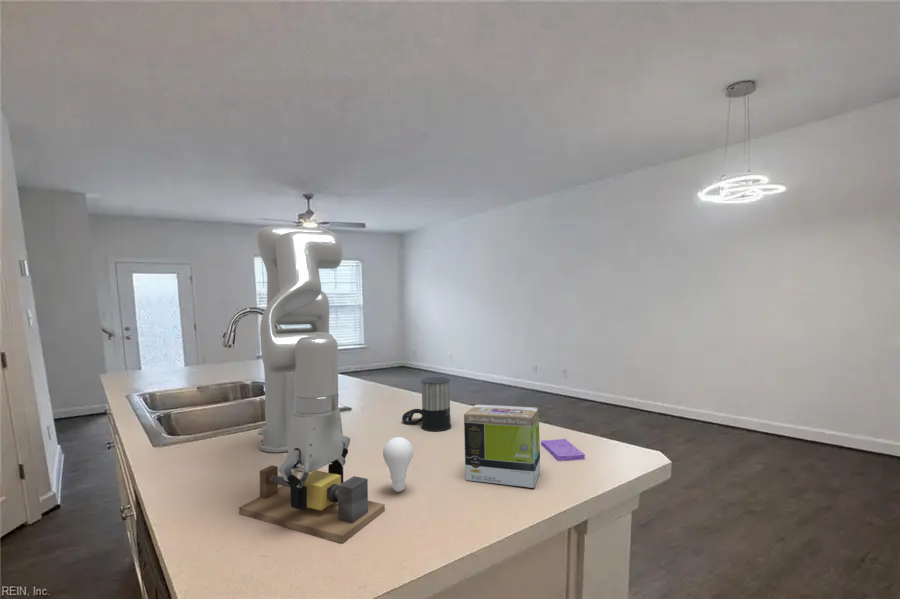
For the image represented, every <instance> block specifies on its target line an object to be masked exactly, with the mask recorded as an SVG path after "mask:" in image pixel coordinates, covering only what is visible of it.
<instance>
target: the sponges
mask: <svg viewBox="0 0 900 599" xmlns="http://www.w3.org/2000/svg"><path fill="white" fill-rule="evenodd" d="M540 444H541V445H540V446H542V447H543V448H544V449H545V450H546V451H547V452H548V453H549V454H550V455H551V456H552V457H553V458H554V459H555V460H556V462H567V461H581V460H583V461H584V460H586V458H585V457H586V453H584V452H583V451H581V450H580V449H579V448H578V447H576V445H574V444H573V443H571V442H570V441H569V440H568V439H567V438H558V439H549V440H548V439H544V440H542V439H541V440H540Z"/></svg>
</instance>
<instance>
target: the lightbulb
mask: <svg viewBox="0 0 900 599" xmlns="http://www.w3.org/2000/svg"><path fill="white" fill-rule="evenodd" d="M382 450H383V451H382V456H383V459H384V462H385V464H386V465H387V467H388V469H389V473H390V479H391V485H392V486H391V487H392V490H393V491H396V492H397V493H400V492H402V491H403V490H404V489H406V479H407V473H408V472H407V471H408V468H409V466H410V463H411V461H412V459H413V456H414V448H413V446H412V443H411V442H410V441H409V440H408V439H407V438H405V437H402V436H401V437H400V436H396V437H393V438H391V439H390V440H388V441H387V442H386V444H385V445H384V447H383V449H382Z"/></svg>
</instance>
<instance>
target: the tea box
mask: <svg viewBox="0 0 900 599" xmlns="http://www.w3.org/2000/svg"><path fill="white" fill-rule="evenodd" d="M539 412H540V411H539V407H536V406H520V405H519V406H517V405H501V404H498V405H497V404H477V403H476V404H475V405H473V406H472V407H471V408H470V409H468V410H467V411H466V412H465V413H464V414H463V426H464V428H463V430H464V433H463V435H464V436H463V437H464V470H465V471H464V472H465V480H466V481H470V482H471V481H472V482H480V483H487V484H488V483H489V484H496V485H497V484H498V485H505V486H514V487H522V488H530V489H534V488H535V487H536V484H537V480H538V477H539V476H540V471H541V448H540V447H541V445H540V444H541V440H540V416H539V414H540V413H539Z"/></svg>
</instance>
